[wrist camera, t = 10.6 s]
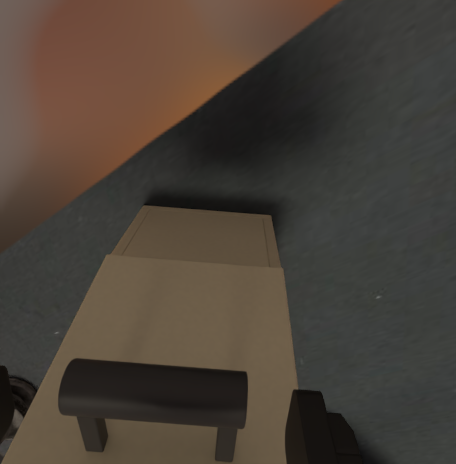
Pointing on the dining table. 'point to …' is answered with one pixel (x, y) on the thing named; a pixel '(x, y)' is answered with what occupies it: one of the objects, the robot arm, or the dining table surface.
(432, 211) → the dining table surface
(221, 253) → the tan lidded cardboard box
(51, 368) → the lid
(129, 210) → the dining table surface
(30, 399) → the salt shaker
